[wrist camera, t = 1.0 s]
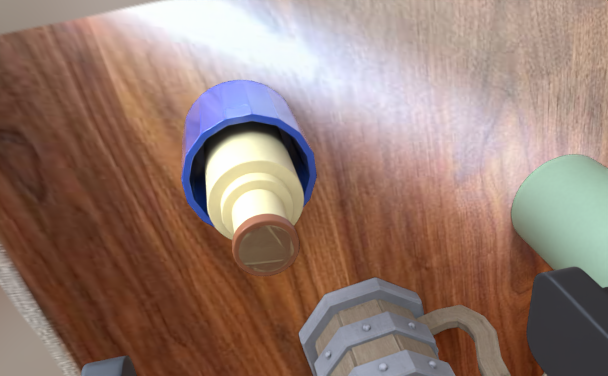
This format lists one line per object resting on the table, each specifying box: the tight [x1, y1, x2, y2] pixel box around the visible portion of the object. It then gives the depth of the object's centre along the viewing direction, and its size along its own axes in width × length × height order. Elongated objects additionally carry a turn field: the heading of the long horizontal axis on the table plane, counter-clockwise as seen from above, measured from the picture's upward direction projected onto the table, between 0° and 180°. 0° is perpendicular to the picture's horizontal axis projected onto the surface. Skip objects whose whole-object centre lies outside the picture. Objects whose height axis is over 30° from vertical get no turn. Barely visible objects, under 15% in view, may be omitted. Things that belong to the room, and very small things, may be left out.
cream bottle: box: [204, 121, 304, 276], centre depth 36 cm, size 6×6×16 cm
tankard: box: [299, 277, 547, 376], centre depth 49 cm, size 20×13×15 cm, turn 105°
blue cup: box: [181, 80, 317, 227], centre depth 40 cm, size 9×9×8 cm
